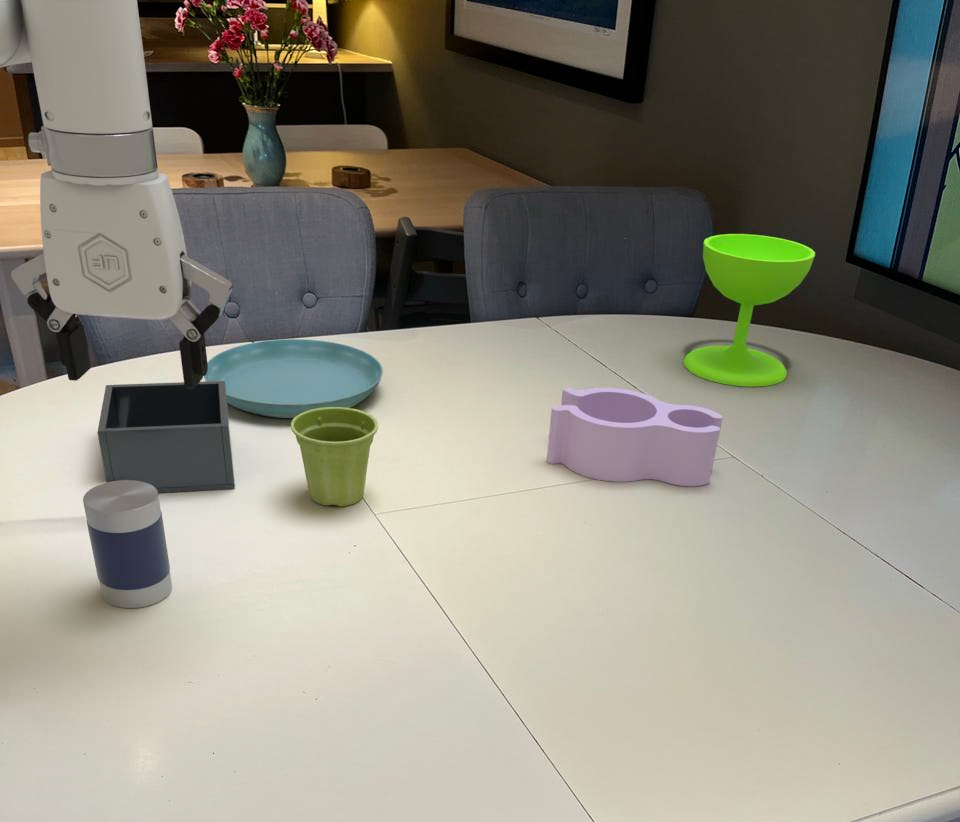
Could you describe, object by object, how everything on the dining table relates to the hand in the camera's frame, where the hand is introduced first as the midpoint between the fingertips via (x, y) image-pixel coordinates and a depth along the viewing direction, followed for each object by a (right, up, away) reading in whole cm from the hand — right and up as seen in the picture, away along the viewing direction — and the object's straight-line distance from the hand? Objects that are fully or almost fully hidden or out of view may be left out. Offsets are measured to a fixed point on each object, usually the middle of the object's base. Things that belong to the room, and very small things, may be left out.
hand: (137, 378), depth 83 cm
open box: (-7, -1, +33) cm, 34 cm away
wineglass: (+68, +20, +72) cm, 101 cm away
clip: (+47, 0, +41) cm, 63 cm away
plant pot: (+12, -6, +30) cm, 33 cm away
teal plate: (+3, +12, +54) cm, 56 cm away
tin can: (-4, -17, +11) cm, 21 cm away
